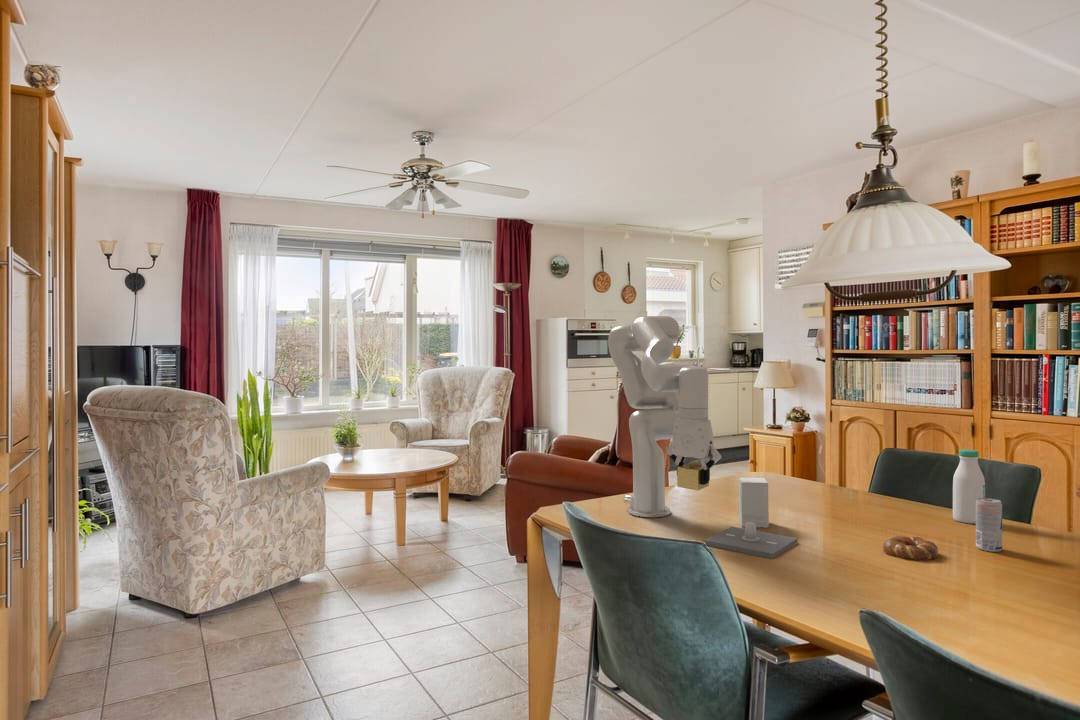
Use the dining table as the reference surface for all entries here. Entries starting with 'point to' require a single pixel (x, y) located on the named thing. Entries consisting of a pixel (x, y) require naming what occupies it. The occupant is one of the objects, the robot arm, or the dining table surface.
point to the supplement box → (753, 501)
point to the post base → (751, 541)
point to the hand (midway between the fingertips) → (693, 481)
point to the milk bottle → (967, 487)
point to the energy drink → (989, 524)
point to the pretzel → (910, 548)
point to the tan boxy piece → (690, 475)
